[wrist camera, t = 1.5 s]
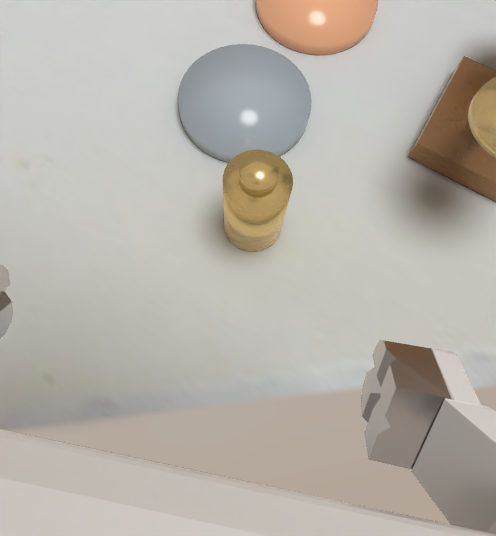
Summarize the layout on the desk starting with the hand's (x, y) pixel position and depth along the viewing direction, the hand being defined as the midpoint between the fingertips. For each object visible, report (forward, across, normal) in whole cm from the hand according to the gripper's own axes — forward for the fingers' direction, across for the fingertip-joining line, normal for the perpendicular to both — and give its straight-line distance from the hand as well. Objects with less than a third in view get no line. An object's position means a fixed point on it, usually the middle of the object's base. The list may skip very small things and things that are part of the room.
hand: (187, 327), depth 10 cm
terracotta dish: (+41, -1, -9) cm, 42 cm away
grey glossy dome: (+32, +3, -1) cm, 32 cm away
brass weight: (+25, 0, +7) cm, 26 cm away
